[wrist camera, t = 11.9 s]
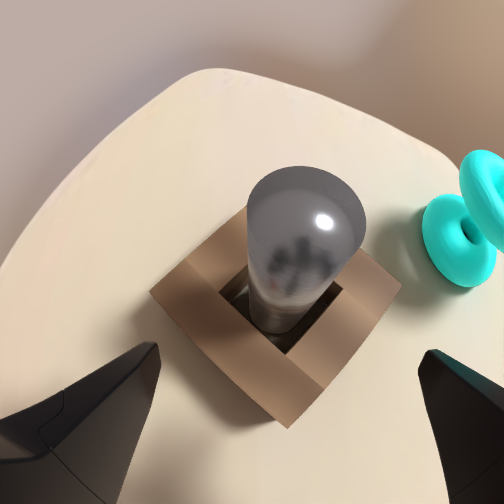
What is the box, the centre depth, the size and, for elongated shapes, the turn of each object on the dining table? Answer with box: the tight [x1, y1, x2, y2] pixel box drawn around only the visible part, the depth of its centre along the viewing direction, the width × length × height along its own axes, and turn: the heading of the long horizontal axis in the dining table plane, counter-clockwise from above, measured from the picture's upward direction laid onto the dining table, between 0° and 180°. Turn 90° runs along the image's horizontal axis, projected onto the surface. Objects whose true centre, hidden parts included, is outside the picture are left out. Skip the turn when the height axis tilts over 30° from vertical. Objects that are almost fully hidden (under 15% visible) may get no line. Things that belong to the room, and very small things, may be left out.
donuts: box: [422, 150, 504, 287], centre depth 19 cm, size 10×10×10 cm
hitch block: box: [149, 205, 402, 429], centre depth 19 cm, size 12×12×4 cm
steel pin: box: [247, 166, 366, 334], centre depth 15 cm, size 4×4×13 cm
